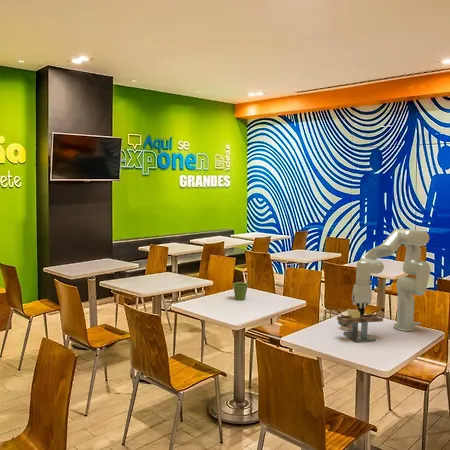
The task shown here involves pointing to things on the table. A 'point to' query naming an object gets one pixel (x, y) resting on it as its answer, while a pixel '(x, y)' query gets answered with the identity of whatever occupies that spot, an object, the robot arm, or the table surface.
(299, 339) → the table surface
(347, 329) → the teacup with lid
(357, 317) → the block
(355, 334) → the pivot stand
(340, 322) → the balance beam
